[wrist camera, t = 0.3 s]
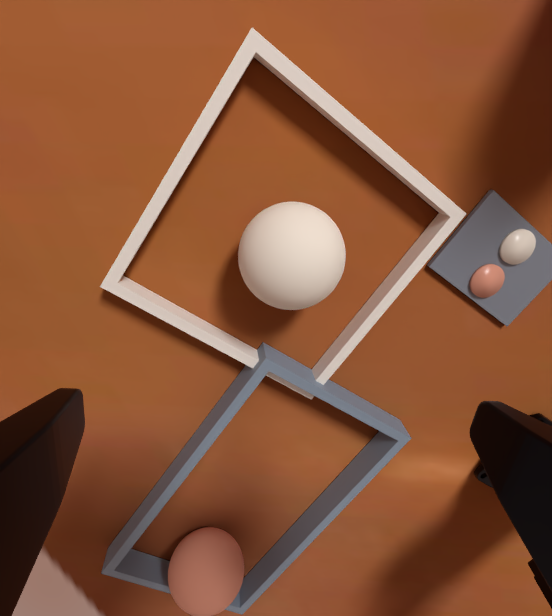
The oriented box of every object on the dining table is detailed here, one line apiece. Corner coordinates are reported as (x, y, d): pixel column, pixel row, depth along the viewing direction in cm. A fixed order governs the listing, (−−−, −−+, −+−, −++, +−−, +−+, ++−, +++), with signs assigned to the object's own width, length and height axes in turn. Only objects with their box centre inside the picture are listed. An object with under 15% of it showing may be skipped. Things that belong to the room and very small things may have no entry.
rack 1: (454, 209, 22) (466, 213, 20) (307, 388, 25) (311, 399, 24) (250, 34, 17) (252, 27, 16) (106, 278, 21) (99, 286, 20)
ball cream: (349, 230, 21) (384, 257, 17) (293, 303, 23) (312, 347, 18) (272, 173, 20) (288, 186, 15) (217, 256, 21) (216, 291, 16)
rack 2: (399, 419, 27) (411, 438, 25) (241, 589, 32) (242, 614, 30) (262, 342, 23) (266, 357, 22) (107, 548, 28) (100, 573, 27)
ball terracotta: (255, 524, 29) (262, 596, 25) (218, 566, 30) (218, 642, 26) (195, 501, 28) (190, 574, 23) (159, 546, 29) (147, 624, 24)
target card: (565, 259, 24) (572, 261, 23) (504, 324, 25) (509, 328, 24) (490, 189, 21) (495, 190, 21) (426, 265, 23) (430, 267, 22)
